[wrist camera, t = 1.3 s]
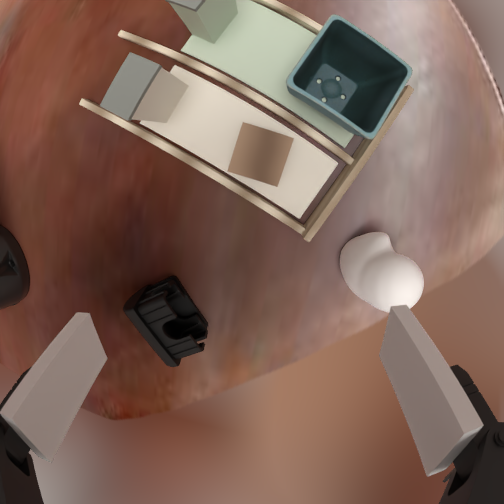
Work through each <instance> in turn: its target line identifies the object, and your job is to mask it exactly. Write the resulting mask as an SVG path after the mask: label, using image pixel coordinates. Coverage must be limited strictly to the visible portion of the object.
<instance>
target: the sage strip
mask: <svg viewBox="0 0 504 504" xmlns="http://www.w3.org/2000/svg"><path fill="white" fill-rule="evenodd" d="M165 1H167V2H169V3H170V5H171V6H172V7H173V9H174V10H175V11H176V13H177V14H178V15H179V17H180V18H181V19H182V21H183V22H184V24H185V25H186V26H187V28H188V29H189V31H190V32H191V33H192V36H191V37H190V38H189V40H188V41H187V43H186V44H185V45H184V47H183V48H182V50H181V51H182V52H184V53H186V54H188V55H190V56H193V57H195V58H197V59H199V60H201V61H203V62H205V63H207V64H209V65H211V66H213V67H215V68H217V69H219V70H221V71H223V72H225V73H227V74H229V75H231V76H233V77H234V78H236V79H238V80H240V81H242V82H244V83H245V84H247V85H249V86H251V87H252V88H254V89H256V90H258V91H259V92H261V93H263V94H264V95H266V96H268V97H269V98H271V99H273V100H274V101H276V102H277V103H279V104H281V105H282V106H284V107H285V108H287V109H289V110H290V111H292V112H293V113H295V114H296V115H298V116H299V117H301V118H302V119H304V120H305V121H307V122H308V123H310V124H311V125H313V126H314V127H315V128H317V129H318V130H320V131H321V132H323V133H324V134H325V135H327V136H328V137H329V138H331V139H332V140H334V141H335V142H336V143H338V144H339V145H340V146H342V147H343V148H345V147H346V146H347V144H348V143H349V141H350V140H351V138H352V137H353V135H354V134H352V133H350V132H348V131H347V130H345V129H344V128H342V127H341V126H340V125H338V124H337V123H335V122H334V121H332V120H331V119H329V118H328V117H326V116H325V115H323V114H322V113H320V112H319V111H317V110H316V109H314V108H312V107H311V106H309V105H308V104H306V103H304V102H303V101H301V100H299V99H298V98H296V97H294V96H293V95H291V94H290V93H289V92H288V89H287V85H286V79H287V77H288V75H289V74H290V73H291V71H292V70H293V68H294V67H295V65H296V64H297V63H298V61H299V60H300V58H301V57H302V56H303V54H304V53H305V51H306V50H307V48H308V47H309V45H310V44H311V43H312V41H313V40H314V38H315V37H316V36H317V35H315V34H314V33H312V32H310V31H309V30H307V29H305V28H303V27H302V26H300V25H298V24H296V23H295V22H293V21H291V20H289V19H287V18H285V17H284V16H282V15H280V14H278V13H276V12H274V11H272V10H270V9H268V8H266V7H264V6H262V5H259V4H257V3H255V2H253V1H251V0H165ZM336 80H337V81H339V80H340V77H336ZM317 83H321V80H320V79H318V80H317ZM341 98H342V99H345V96H344V95H341ZM322 101H323V102H326V98H322Z"/></svg>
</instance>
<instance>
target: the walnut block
mask: <svg viewBox="0 0 504 504" xmlns="http://www.w3.org/2000/svg"><path fill="white" fill-rule="evenodd" d="M293 140H294V138H292V137H289V136H286V135H283V134H280V133H277V132H274V131H271V130H268V129H264V128H261V127H258V126H255V125H251V124H248V123H244V122H243V123H242V126H241V129H240V132H239V135H238V139H237V142H236V145H235V148H234V151H233V154H232V158H231V161H230V164H229V167H228V171H227V172H231V173H234V174H237V175H241V176H244V177H247V178H250V179H254V180H257V181H260V182H263V183H266V184H269V185H273V186H276V187H278V184H279V181H280V178H281V175H282V172H283V169H284V166H285V163H286V160H287V157H288V155H289V152H290V149H291V146H292V143H293Z"/></svg>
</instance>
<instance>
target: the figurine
mask: <svg viewBox="0 0 504 504" xmlns="http://www.w3.org/2000/svg"><path fill="white" fill-rule="evenodd" d="M340 269H341V272H342V275H343V278H344V280H345V282H346V283H347V285H348V287H349V288H350V289H351V290H352V292H353V293H354V294H356V295H357V296H358V297H359V298H361V299H362V300H364V301H366V302H367V303H369V304H370V305H372V306H373V307H375V308H377V309H380V310H382V311H385V312H390V308H391V306H398V305H407V306H408V308H409V309H410V308H411V307H412V306H414V305H415V304H416V303H417V301H418V300H419V298H420V296H421V294H422V291H423V287H424V280H423V275H422V272H421V270H420V268H419V267H418V265H417V264H416V263H415V262H414V261H413V260H412V259H410V258H408V257H407V256H405V255H402V254H398V253H396V252H395V251H394V250H393V248H392V245H391V242H390V238H389V236H388V235H387V234H386V233H383V232H371V233H367V234H364V235H361V236H357V237H355V238H353V239H351V240H350V241H348V242H347V243H346V244H345V246H344V247H343V249H342V251H341V254H340Z"/></svg>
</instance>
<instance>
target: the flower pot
mask: <svg viewBox="0 0 504 504" xmlns="http://www.w3.org/2000/svg"><path fill="white" fill-rule="evenodd" d="M411 75H412V68H411V67H410V66H409V65H408V64H407V63H406V62H405V61H403V60H402V59H401V58H399V57H398V56H397V55H396V54H394V53H393V52H392V51H390V50H389V49H388V48H386V47H385V46H383V45H382V44H381V43H379V42H378V41H377V40H375V39H374V38H372V37H371V36H369V35H368V34H366V33H365V32H363V31H362V30H361V29H359V28H358V27H356V26H355V25H353V24H352V23H350V22H348V21H347V20H346V19H344V18H342V17H341V16H338V15H335V14H333V15H331V16H330V17H329V18H328V20H327V21H326V23H325V24H324V26H323V27H322V28H321V30H320V31H319V33H318V34H317V36H316V37H315V38H314V40H313V41H312V43H311V44H310V45H309V47H308V48H307V50H306V51H305V53H304V54H303V56H302V57H301V58H300V60H299V61H298V63H297V64H296V65H295V67H294V68H293V70H292V71H291V73H290V74H289V75H288V77H287V79H286V85H287V89H288V92H289V93H290V94H291V95H293V96H294V97H296V98H298V99H299V100H301V101H303V102H304V103H306V104H308V105H309V106H311V107H312V108H314V109H316V110H317V111H319V112H320V113H322V114H323V115H325V116H326V117H328V118H329V119H331V120H332V121H334V122H335V123H337V124H338V125H340V126H341V127H342V128H344V129H345V130H347V131H348V132H350V133H352V134H355V135H358V136H361V137H363V138H367V139H370V140H371V139H373V138H374V137H375V136H376V134H377V133H378V131H379V129H380V128H381V126H382V124H383V123H384V121H385V119H386V117H387V115H388V114H389V112H390V110H391V109H392V107H393V105H394V104H395V102H396V100H397V99H398V97H399V95H400V93H401V92H402V90H403V88H404V87H405V85H406V83H407V82H408V80H409V79H410V77H411ZM336 77H340V80H339V81H337V80H336ZM318 79H320V80H321V83H317V80H318ZM341 95H344V96H345V99H342V98H341ZM322 98H326V102H323V101H322Z"/></svg>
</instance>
